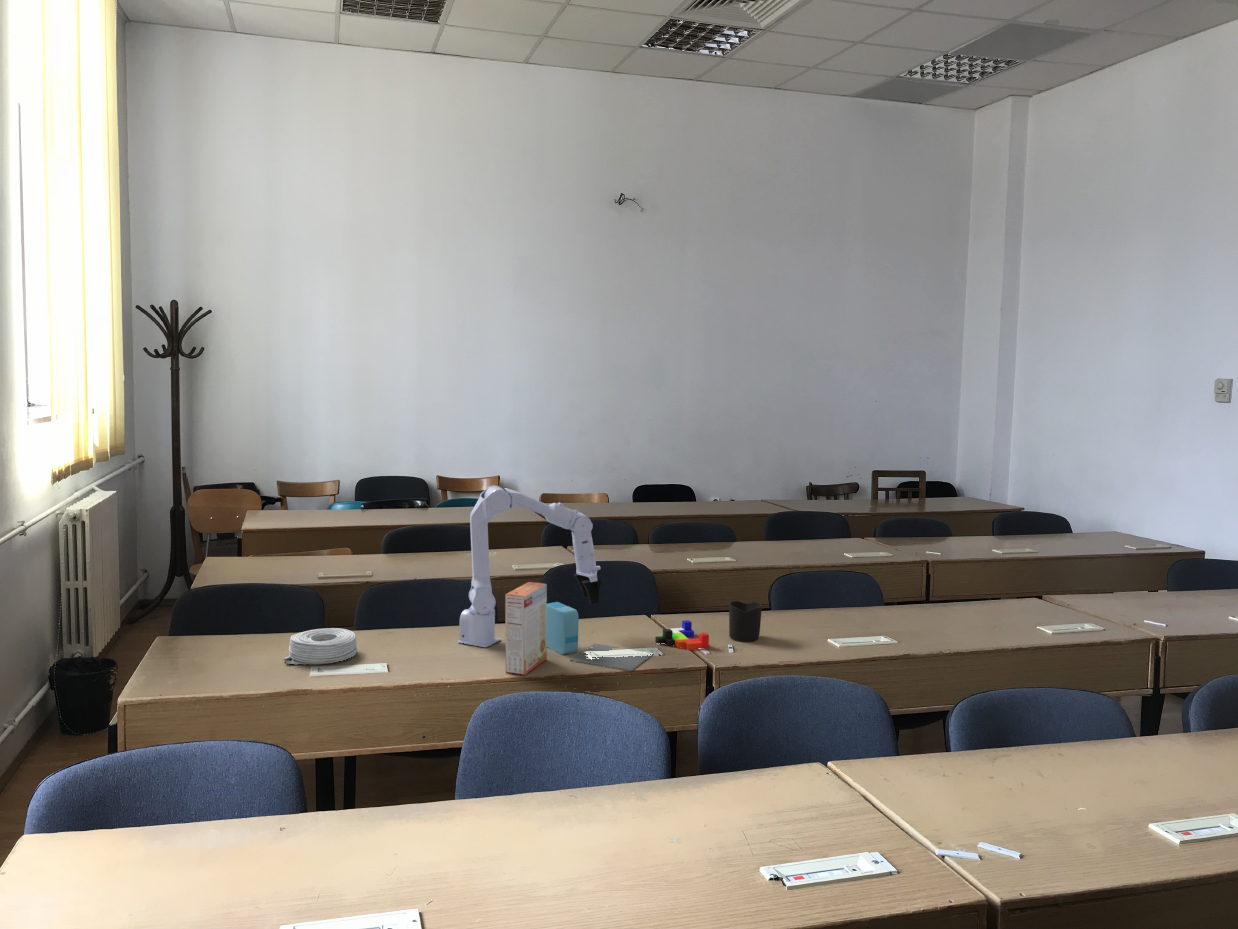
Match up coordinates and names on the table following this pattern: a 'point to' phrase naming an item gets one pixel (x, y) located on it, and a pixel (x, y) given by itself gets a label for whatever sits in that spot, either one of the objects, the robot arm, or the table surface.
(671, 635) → the building blocks
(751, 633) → the pen holder
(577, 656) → the mat
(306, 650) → the cable
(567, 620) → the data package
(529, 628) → the cracker box
